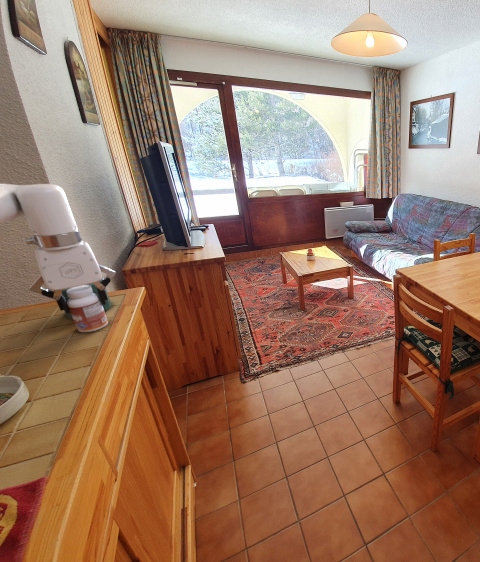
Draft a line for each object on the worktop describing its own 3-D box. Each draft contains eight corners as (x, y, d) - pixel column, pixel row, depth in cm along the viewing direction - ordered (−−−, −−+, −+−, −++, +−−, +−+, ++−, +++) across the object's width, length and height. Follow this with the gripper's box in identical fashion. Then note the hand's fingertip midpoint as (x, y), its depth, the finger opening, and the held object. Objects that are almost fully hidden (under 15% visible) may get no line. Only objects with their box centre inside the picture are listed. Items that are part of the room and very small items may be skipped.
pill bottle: (73, 328, 80) (57, 290, 76) (102, 318, 85) (88, 281, 81) (84, 335, 78) (67, 296, 73) (113, 324, 83) (99, 287, 78)
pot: (59, 326, 81) (46, 298, 78) (74, 303, 93) (63, 277, 90) (106, 317, 86) (96, 290, 82) (115, 296, 98) (106, 272, 94)
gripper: (2, 250, 64) (38, 324, 71) (108, 236, 75) (130, 302, 82) (5, 242, 69) (38, 313, 76) (104, 230, 80) (125, 292, 87)
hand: (86, 306), depth 79 cm, fingers open, 6 cm apart
